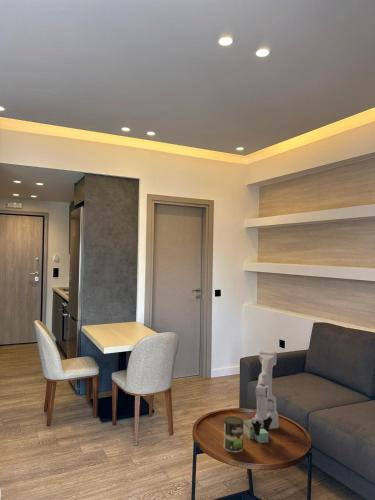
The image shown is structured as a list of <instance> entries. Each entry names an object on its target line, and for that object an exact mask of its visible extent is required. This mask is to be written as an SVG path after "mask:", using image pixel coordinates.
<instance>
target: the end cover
mask: <svg viewBox="0 0 375 500" xmlns="http://www.w3.org/2000/svg"><path fill="white" fill-rule="evenodd" d="M254 440H255V441H256V442H258V443H259V444H262V443H263V444H264V443H265V444H267V443H269V431H268V432H267V431H266V430H265V429H264V428H261V429H260V435H259V436H257V435H256V434H255V439H254Z"/></svg>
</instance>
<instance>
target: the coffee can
mask: <svg viewBox="0 0 375 500" xmlns="http://www.w3.org/2000/svg"><path fill="white" fill-rule="evenodd" d="M243 420H244V419H243V418H241V417H239V416H227V417H225V418H224V419H223V449H224V450H225V451H226V452H229V453H241V452H242V451H243V450H244V433H243V423H244V421H243Z"/></svg>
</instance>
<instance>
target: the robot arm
mask: <svg viewBox="0 0 375 500" xmlns="http://www.w3.org/2000/svg"><path fill="white" fill-rule="evenodd" d="M258 360H259V362H260V364H261V373H259V375H258V381H257V385H256V387H255V398H256V413H255V415H254V417H252V418H251V420H252V421H251V423H252V425H253V427H254V430H255V434H256V435H257V436H259V435H260V427H261V424H260V423H259V421H261V420H262V421H263V422H264V429H265V430H266V431H267V432H268V433H269V430H271V429H279V413H278V411H277V398H276V396H275V395H274V394H273V393H272V391H273V390H272V389H273V388H272V387H273V369H274V366H277V351H271V350H270V351H269V350H262V349H260V350H259V353H258Z"/></svg>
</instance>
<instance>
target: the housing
mask: <svg viewBox="0 0 375 500" xmlns="http://www.w3.org/2000/svg"><path fill="white" fill-rule="evenodd" d="M243 421H244V423H243V435H245V436H246V438H248V439H249V440H256V439H255V430H254V427H253V425H252V423H251V421H252V419H245V420H244V419H243ZM259 423H260V424H261V427H260V429H261V428H264V422H263V421H262V420H261V421H259Z"/></svg>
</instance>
